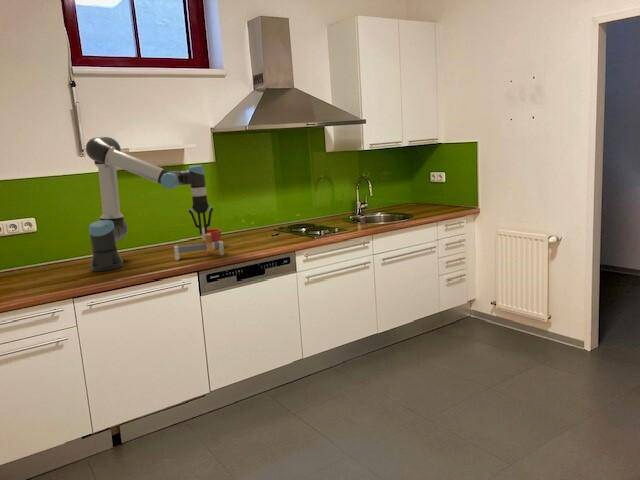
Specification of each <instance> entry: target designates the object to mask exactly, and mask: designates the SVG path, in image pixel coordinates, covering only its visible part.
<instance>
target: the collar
mask: <svg viewBox="0 0 640 480" xmlns="http://www.w3.org/2000/svg"><path fill="white" fill-rule="evenodd" d="M205 237H206V246H207V250H206V253H207V255H210V254H211V255H212V254H213V255H214V249H213V246H212V237H211V233H209V234H205Z"/></svg>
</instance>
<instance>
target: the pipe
mask: <svg viewBox="0 0 640 480" xmlns="http://www.w3.org/2000/svg"><path fill="white" fill-rule="evenodd" d="M212 246H213V250H215V249H218V250H219V255H220V256H224V255H225V249H224V242H223V240H220V241H218V242H212ZM173 251H174V258H175V261H180V253H189V252H197V251H198V252H200V251H207V246H206V243H204V242H203V243H195V244H183V245H174V246H173Z"/></svg>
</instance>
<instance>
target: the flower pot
mask: <svg viewBox="0 0 640 480" xmlns="http://www.w3.org/2000/svg"><path fill="white" fill-rule="evenodd" d="M209 233H211V237H212V242H218V241H221V236H222V235H221V234H222V229H218V228H211V229H207V234H209ZM203 243H206V240H205V241H203Z"/></svg>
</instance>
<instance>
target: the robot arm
mask: <svg viewBox="0 0 640 480" xmlns="http://www.w3.org/2000/svg"><path fill="white" fill-rule="evenodd" d="M121 150H122V148H121V145H120V144H119V141H117V140H116V139H115V138H112V137H108V136H100V137H99V136H96V137H93V138H90V139H89V140H88V141H87V143H86V144H85V152H86V155H87V157H89V158H90V159H91V160H93V161H94V165H95V166H96V167H97V169H98V178H99V179H98V180H99V188H100V197H101V198H100V199H101V209H102V214H101V216H99V220H97V221H94V222H91V223H90V224H89V226H88V233H89V237H90V244H91V250H92V257H91V263H90V268H91V271H93V272H106V271H113V270H115V269H119V268H121V267H123V266H124V261H123V259H122V257H121V255H120V253H119V252H118V251H119V250H118V244H117V242H120V241H122V240H123V239H124V238H125V237H126V236H127V234H128V230H129V229H128V227H129V226H128V224H127V222H126V221H125V217H124V214H123V213H121V208H120V207H121V205H120V195H119V183H118V174H117V172H118V171H117V168H118V169H122V170H124V171H126V172H129V173H132V174H133V175H137V176H139V177H141V178H145V179H147V180H150V181H152V182H155V183H157V184H159V185H162V187H164V188H165V189H175V188H176V187H179V186H186V185H187V186H189V185H190V192H191V196H192V197H191V200H192V206H191V208H190V209H188V213H189V214H190V217H191V219H192V221H193V223H194V226H195V228H198V231H199V235H201V236H202V241H203V242H204V241H205V240H206V237H205V234H207V230H208V229H207V228H208V227H210V226H211V219H212V213H213V211H214V207H212V206H210V205H209V204H208V196H207V187H206V176H205V170H204V169H205V168H204V166H203V165H200V164H199V165H190V166H188V169H186V170H167V169H164V168H162V167H160V166H157V165H155V164H152V163H151V162H150V163H149V162H147V161H145V160H143V159H140V158H138V157H134V156H133V155H130V154H129V153H125V152H122V151H121ZM194 211H195V213H197V219H198V220H196V218H195V214H194ZM207 211H208V218H207V217H206V213H207ZM201 214H202V218H201ZM206 218H207V220H206ZM201 219H202V220H203V227H202V220H201ZM197 221H198V223H197Z"/></svg>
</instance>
